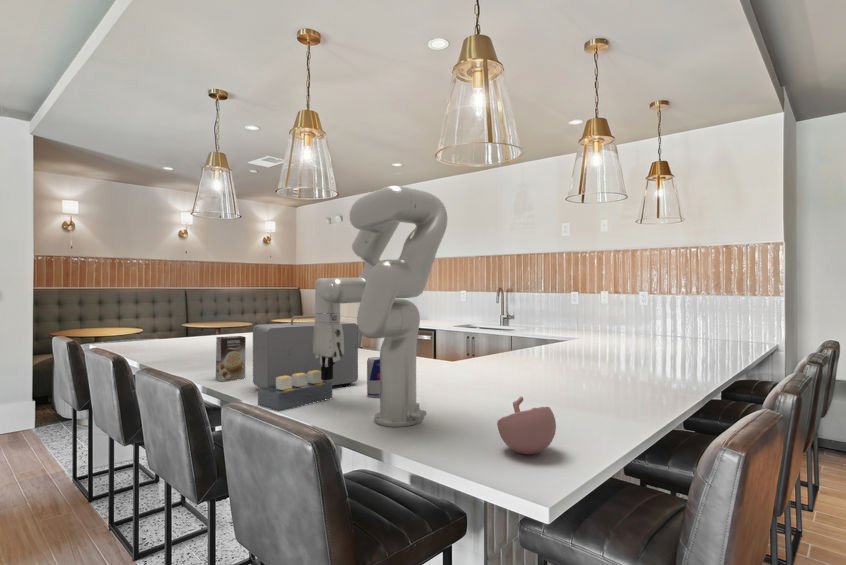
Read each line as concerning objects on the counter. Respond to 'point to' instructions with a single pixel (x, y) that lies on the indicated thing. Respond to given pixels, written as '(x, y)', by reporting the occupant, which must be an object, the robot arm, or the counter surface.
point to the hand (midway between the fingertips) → (327, 379)
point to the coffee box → (230, 358)
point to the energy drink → (373, 377)
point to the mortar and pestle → (528, 429)
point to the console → (293, 395)
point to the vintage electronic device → (299, 352)
